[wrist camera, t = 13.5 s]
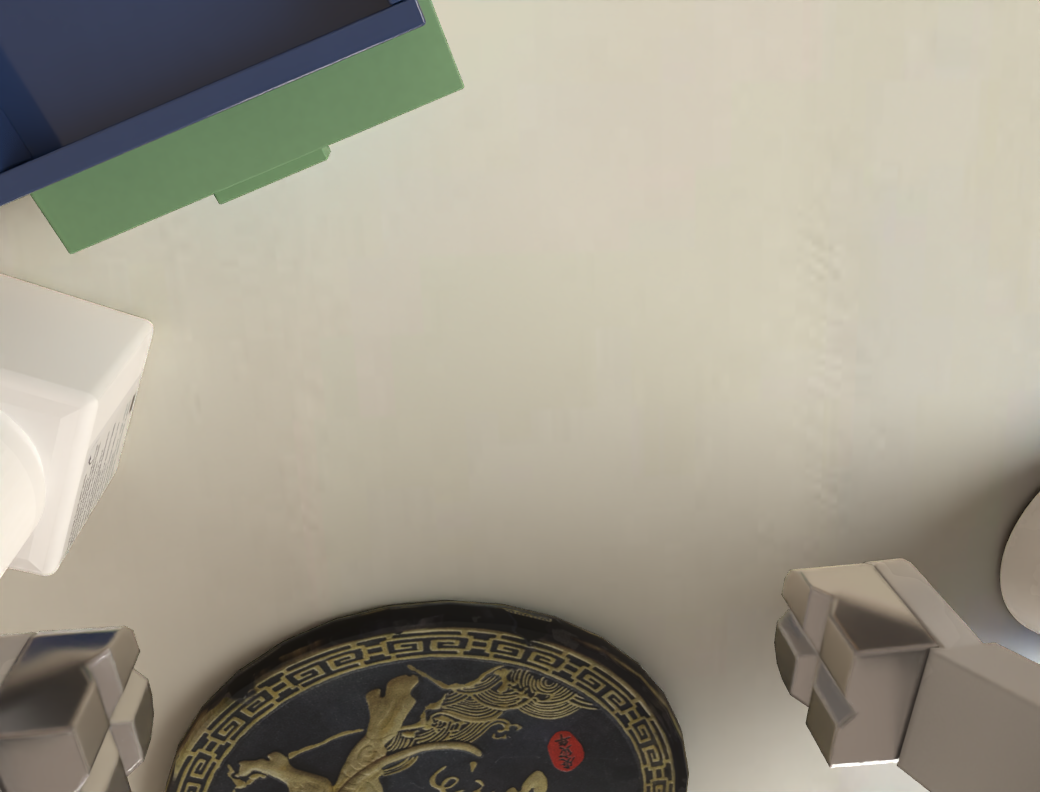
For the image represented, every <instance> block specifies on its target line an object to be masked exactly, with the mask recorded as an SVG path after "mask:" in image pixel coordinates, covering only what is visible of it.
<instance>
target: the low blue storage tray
mask: <svg viewBox="0 0 1040 792" xmlns="http://www.w3.org/2000/svg"><path fill="white" fill-rule="evenodd" d="M425 24H426V20H425V17H424V15H423V12H422V10H421V7H420V4H419V2H418V0H0V206H3V205H5V204H7V203H10V202H12V201H14V200H17V199H19V198H21V197H24V196H26V195H28V194H31V193H33V192H36V191H38V190H40V189H43V188H45V187H47V186H50V185H52V184H54V183H57V182H59V181H61V180H64V179H66V178H68V177H71V176H73V175H75V174H78V173H80V172H82V171H85V170H87V169H89V168H92V167H94V166H96V165H99V164H101V163H103V162H106V161H108V160H110V159H113V158H115V157H118V156H120V155H122V154H125V153H127V152H129V151H132V150H134V149H136V148H139V147H141V146H143V145H146V144H148V143H150V142H153V141H155V140H157V139H160V138H162V137H164V136H167V135H169V134H171V133H174V132H176V131H178V130H181V129H183V128H185V127H188V126H190V125H193V124H195V123H197V122H200V121H202V120H204V119H207V118H209V117H211V116H214V115H216V114H218V113H221V112H223V111H225V110H228V109H230V108H232V107H235V106H237V105H239V104H242V103H244V102H246V101H249V100H251V99H253V98H256V97H258V96H260V95H263V94H265V93H267V92H270V91H272V90H275V89H277V88H279V87H282V86H284V85H286V84H289V83H291V82H293V81H296V80H298V79H300V78H303V77H305V76H307V75H310V74H312V73H314V72H317V71H319V70H321V69H324V68H326V67H328V66H331V65H333V64H335V63H338V62H340V61H342V60H345V59H347V58H350V57H352V56H354V55H357V54H359V53H361V52H364V51H366V50H368V49H371V48H373V47H375V46H378V45H380V44H382V43H385V42H387V41H389V40H392V39H394V38H396V37H399V36H401V35H403V34H406V33H408V32H410V31H413V30H415V29H417V28H420V27H422V26H424V25H425Z"/></svg>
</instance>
